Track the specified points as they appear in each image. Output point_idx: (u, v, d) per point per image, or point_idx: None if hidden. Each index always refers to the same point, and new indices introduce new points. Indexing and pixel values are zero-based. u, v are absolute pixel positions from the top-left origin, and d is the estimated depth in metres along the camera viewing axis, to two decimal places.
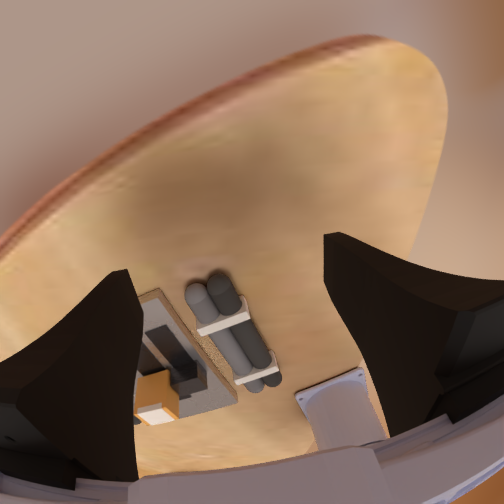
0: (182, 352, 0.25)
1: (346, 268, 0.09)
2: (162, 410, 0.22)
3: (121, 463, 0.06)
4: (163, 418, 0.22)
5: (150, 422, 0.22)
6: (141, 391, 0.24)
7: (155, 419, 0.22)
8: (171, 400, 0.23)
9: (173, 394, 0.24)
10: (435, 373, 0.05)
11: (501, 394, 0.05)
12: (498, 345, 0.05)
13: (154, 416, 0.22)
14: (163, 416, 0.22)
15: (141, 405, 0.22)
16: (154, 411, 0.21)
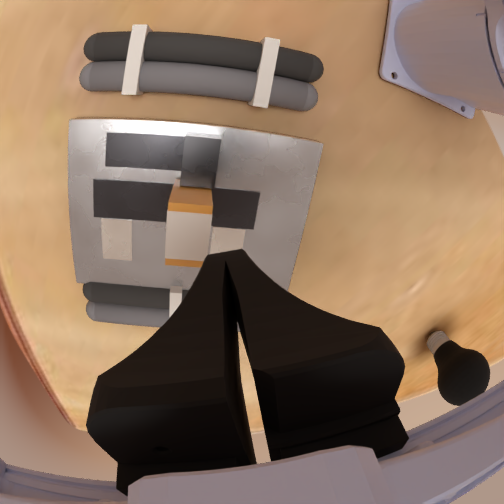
0: (161, 141, 0.16)
1: (233, 290, 0.09)
2: (175, 214, 0.14)
3: (252, 454, 0.07)
4: (198, 229, 0.14)
5: (196, 255, 0.15)
6: None
7: (192, 242, 0.14)
8: (185, 196, 0.15)
9: (193, 191, 0.15)
10: (264, 425, 0.05)
11: None
12: (361, 404, 0.05)
13: (182, 237, 0.14)
14: (190, 224, 0.14)
15: None
16: (169, 227, 0.14)
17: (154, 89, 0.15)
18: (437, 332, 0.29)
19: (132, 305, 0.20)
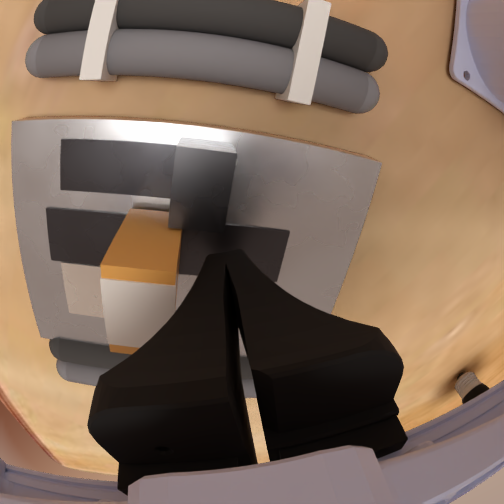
0: (141, 152, 0.10)
1: (232, 290, 0.09)
2: (113, 283, 0.08)
3: (254, 454, 0.07)
4: (153, 306, 0.08)
5: None
6: None
7: (147, 325, 0.08)
8: (134, 247, 0.08)
9: (150, 234, 0.09)
10: (263, 425, 0.05)
11: None
12: (359, 405, 0.05)
13: (129, 318, 0.08)
14: (141, 299, 0.08)
15: None
16: (107, 302, 0.08)
17: (131, 70, 0.09)
18: (467, 374, 0.23)
19: None
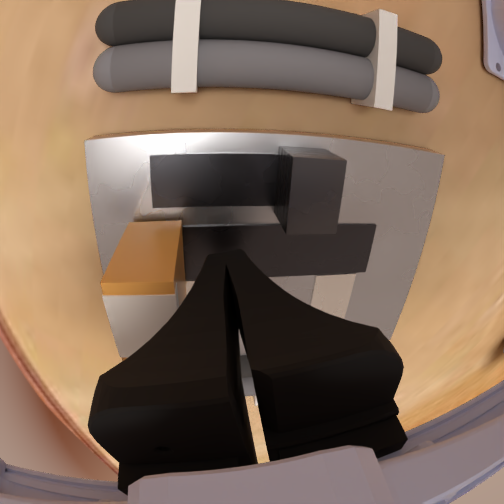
0: (240, 163, 0.11)
1: (232, 290, 0.09)
2: (116, 299, 0.08)
3: (254, 454, 0.07)
4: (158, 317, 0.08)
5: None
6: None
7: None
8: (133, 261, 0.09)
9: (148, 246, 0.09)
10: (263, 425, 0.05)
11: None
12: (359, 405, 0.05)
13: (137, 331, 0.08)
14: (144, 311, 0.08)
15: None
16: (112, 318, 0.08)
17: (223, 82, 0.09)
18: None
19: None
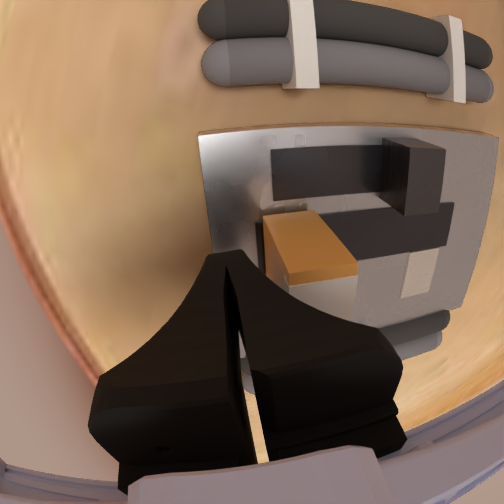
0: (352, 154, 0.11)
1: (232, 290, 0.09)
2: (301, 288, 0.08)
3: (254, 454, 0.07)
4: (336, 299, 0.09)
5: None
6: None
7: None
8: (304, 250, 0.09)
9: (306, 235, 0.10)
10: (262, 425, 0.05)
11: None
12: (359, 405, 0.05)
13: None
14: (326, 296, 0.09)
15: None
16: None
17: (335, 79, 0.10)
18: None
19: None
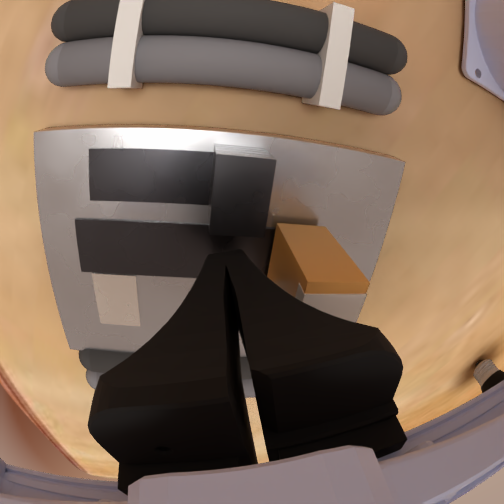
0: (174, 160, 0.11)
1: (232, 290, 0.09)
2: (315, 297, 0.09)
3: (254, 454, 0.07)
4: (342, 314, 0.09)
5: None
6: None
7: None
8: (320, 262, 0.10)
9: (320, 249, 0.10)
10: (262, 425, 0.05)
11: None
12: (359, 405, 0.05)
13: None
14: (334, 309, 0.09)
15: None
16: None
17: (160, 78, 0.09)
18: (485, 361, 0.23)
19: None
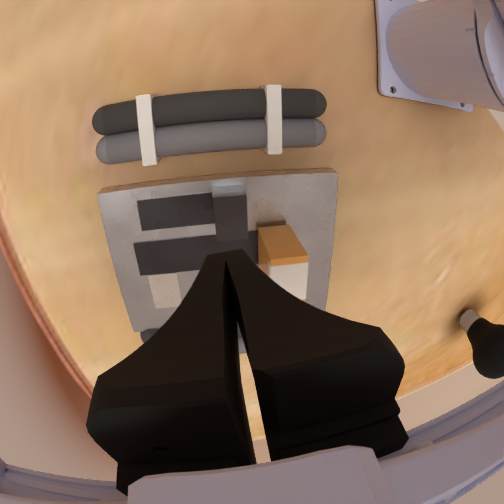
0: (190, 200, 0.18)
1: (233, 290, 0.09)
2: (277, 267, 0.16)
3: (252, 454, 0.07)
4: (297, 275, 0.17)
5: (296, 296, 0.17)
6: None
7: (293, 286, 0.17)
8: (280, 247, 0.17)
9: (282, 240, 0.18)
10: (264, 425, 0.05)
11: None
12: (361, 405, 0.05)
13: (284, 285, 0.17)
14: (290, 273, 0.17)
15: None
16: (273, 278, 0.17)
17: (172, 154, 0.17)
18: (467, 311, 0.29)
19: None
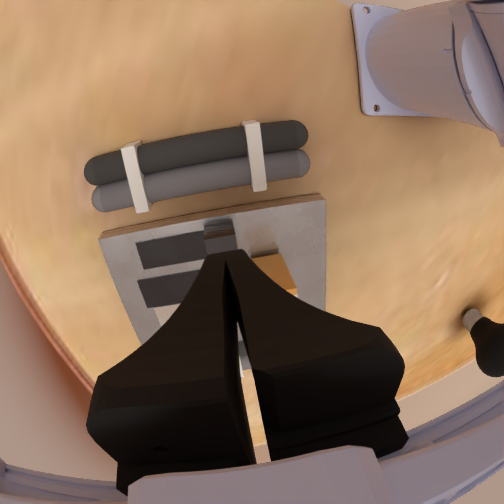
0: (184, 239, 0.20)
1: (233, 290, 0.09)
2: None
3: (252, 454, 0.07)
4: None
5: None
6: None
7: None
8: None
9: (273, 272, 0.19)
10: (264, 425, 0.05)
11: None
12: (361, 405, 0.05)
13: None
14: None
15: None
16: None
17: (163, 199, 0.18)
18: (470, 311, 0.29)
19: None
